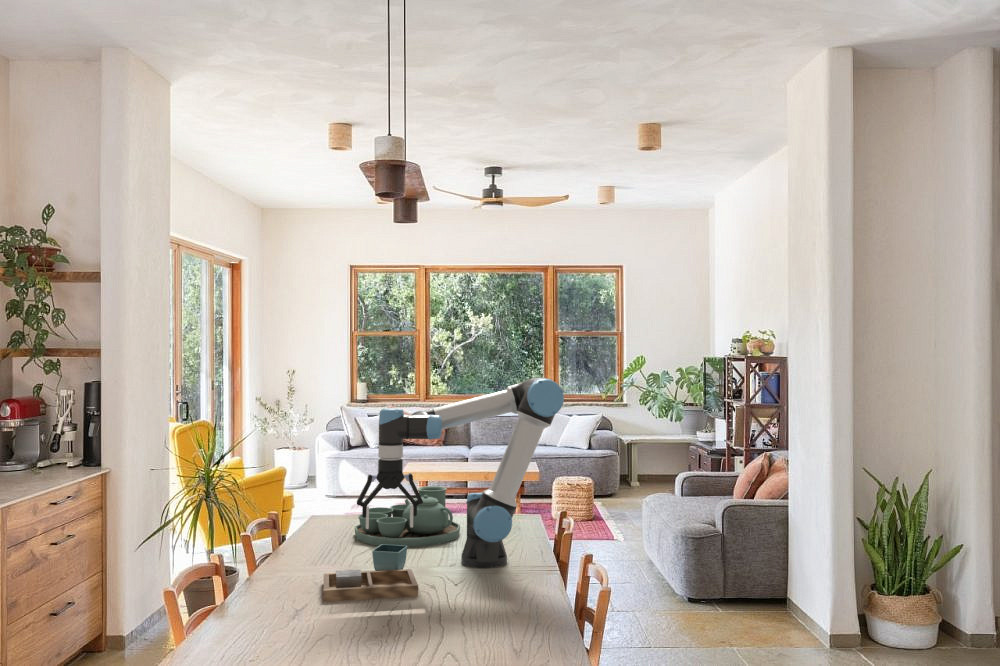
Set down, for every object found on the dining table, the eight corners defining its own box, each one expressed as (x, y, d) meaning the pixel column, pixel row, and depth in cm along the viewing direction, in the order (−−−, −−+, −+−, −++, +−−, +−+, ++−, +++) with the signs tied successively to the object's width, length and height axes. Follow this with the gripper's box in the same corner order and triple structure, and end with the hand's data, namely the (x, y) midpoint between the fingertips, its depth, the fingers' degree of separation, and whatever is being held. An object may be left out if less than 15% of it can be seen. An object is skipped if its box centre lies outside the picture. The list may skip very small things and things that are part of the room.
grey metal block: (360, 586, 241) (360, 569, 241) (361, 593, 235) (361, 575, 235) (335, 588, 240) (336, 570, 240) (336, 594, 233) (336, 577, 233)
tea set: (371, 523, 336) (371, 483, 336) (468, 527, 331) (468, 485, 331) (339, 546, 297) (339, 500, 297) (448, 550, 291) (449, 503, 292)
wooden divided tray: (411, 582, 250) (411, 568, 250) (418, 599, 232) (418, 585, 232) (323, 586, 245) (323, 573, 245) (323, 605, 227) (323, 590, 227)
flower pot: (398, 581, 250) (399, 552, 251) (371, 580, 252) (371, 550, 252) (407, 574, 259) (408, 545, 259) (381, 572, 261) (381, 544, 261)
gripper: (429, 456, 263) (428, 523, 262) (349, 457, 257) (348, 526, 257) (432, 459, 255) (431, 528, 255) (350, 460, 250) (348, 531, 250)
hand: (389, 527), depth 256 cm, fingers open, 13 cm apart
